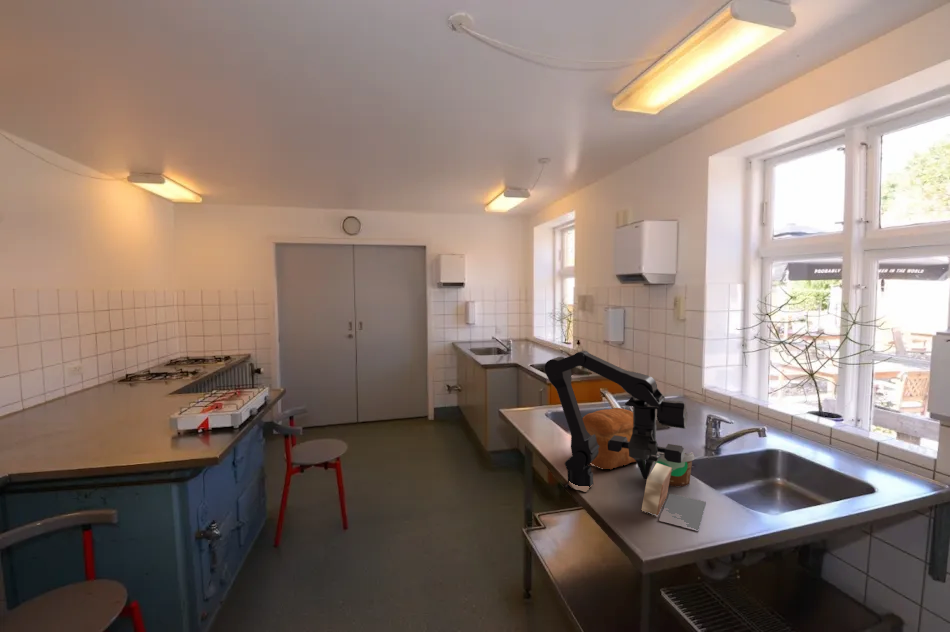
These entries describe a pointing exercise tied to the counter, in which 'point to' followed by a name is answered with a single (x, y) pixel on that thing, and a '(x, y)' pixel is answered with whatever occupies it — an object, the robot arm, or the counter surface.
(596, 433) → the bread
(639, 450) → the robot arm
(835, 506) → the counter surface
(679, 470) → the food container
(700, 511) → the rubber mat
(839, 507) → the counter surface
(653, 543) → the counter surface
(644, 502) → the beige flat block
